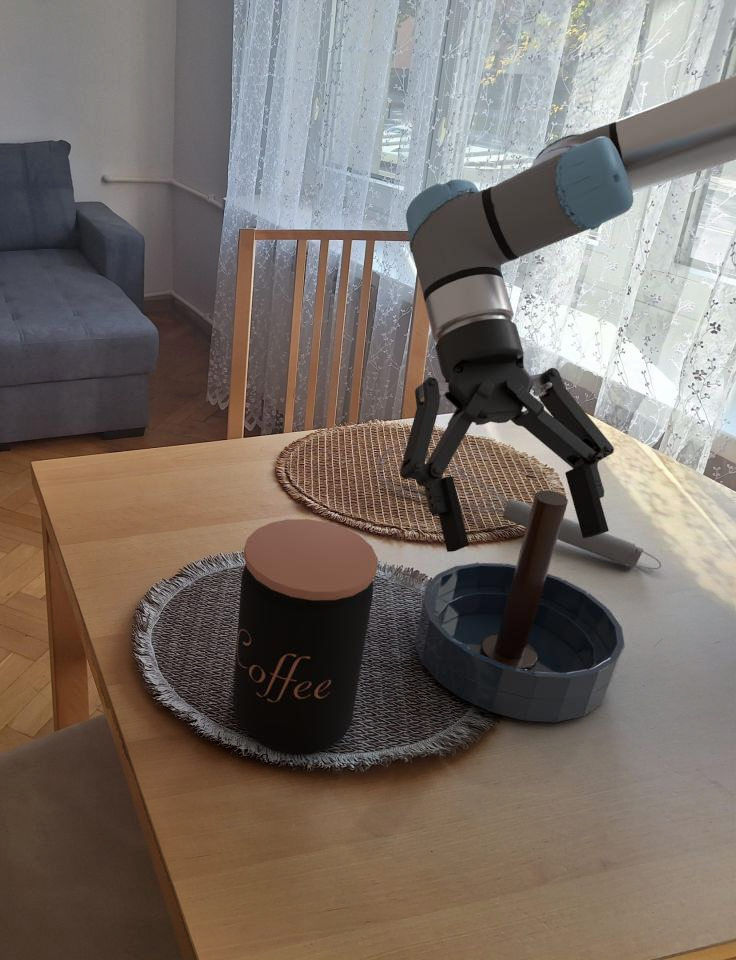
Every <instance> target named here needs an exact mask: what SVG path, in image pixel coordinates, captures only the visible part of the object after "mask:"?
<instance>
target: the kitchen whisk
mask: <svg viewBox="0 0 736 960" xmlns="http://www.w3.org/2000/svg"><path fill="white" fill-rule="evenodd" d="M399 447H407V444H403V445H402V444H400V445H393V446H391V447H390V448H388V449H386V450H385V451H384V452H383V453H382V455H381V457H380V458H378V459H377V460H376V461H377V464H376V467H375V469H376V472H377V476H378V477H379V478H380V480H381V482H383V483H384V484H385V485H386V486H387V487H388V488H389V489H390V490H392V491H394V492H395V493H397V494H399V495H401V496H404V497H407V498H409V499H412V500H414V501H418V502H421V503H425V504H428V502H427V501H425V500H420V499H416V498H414V497H411V496H409V495H406V494H403V493H401V492H399V491H398V490H401V491H404V492H406V493H408V494H411V495H414V496H418V497H421V498H425V499H427V498H426V496H424V495H420V494H417V493H414V492H411V491H408V490H405V489H403V488H400V487H398V486H397V485H395V484H393V483H390V482H389V481H387V480H386V479H384V477H382V475H381V472H380V468H382V470H383V471H384V472H385V473H386V475H387V476H388V477H390V478H391V479H393V480H394V481H396V482H397V483H399V484H401V485H403V486H405V487H407V488H410V489H412V490H415V491H417V492H419V493H421V494H422V493H423V494H425V491H422V490H419V489H417V488H414V487H412V486H409V485H407V484H405V483H403V482H401V481H399V480H398V479H396V478H395V477H393V476H391V475H390V474H389V473H388V472H387V470H386V469H385V468H384V466H386V467H388V468H390V469H392V470H396V471H398V472H400V470H401V469H398V468H395V467H394V466H391V465H388V464H387V463H384V462H388V463H391V464H393V465H398V466H400V467H401V466H402V463H397V462H394V461H391V460H387V459H384V458H385V457H386V456H387V455H388V454H393V453H399V454H403V455H405V451H406V450H392V449H394V448H399ZM427 453H429V454H432V453H433V451H429V450H428V452H427ZM429 458H430V456H428V455H427V456H426V460H425V463H427V462H428V460H427V459H429ZM383 461H384V462H383ZM449 464H451V465H453V466H455V467H456V468H458V469H460V470H461V471H463V472H465V473H466V474H468V475H469V476H468V475H466V474H465V473H463V472H461V471H460V470H457V469H456V468H453V467H452V466H450V465H448V466H447V468H449V469H451V470H453V471H455V472H457V473H458V474H461V475H463V476H464V477H466V478H467V479H469V480H471V481H473V482H474V483H475V484H474V483H473V482H471V481H469V480H467V479H465V478H463V477H462V476H460V475H458V474H456V473H454V472H452V471H450V470H448V469H446V470H445V471H446V472H448V473H449V474H452V475H454V476H456V477H457V478H459V479H461V480H463V481H465V482H466V483H469V484H470V485H472V486H474V487H476V488H478V489H479V490H481V491H482V492H485V493H487V494H488V495H490V496H492V497H493V498H495V499H496V500H498V501H500V502H502V503H503V504H501V503H499V502H497V501H495V500H493V499H490V498H488V497H485V496H482V495H481V494H478V493H476V492H473V491H470V490H468V489H465V488H464V487H461V486H459V485H456V484H455V487H456V488H459V489H461V490H463V491H466V492H467V493H471V494H473V495H475V496H478V497H480V498H478V497H475V496H472V495H469V494H466V493H463V492H461V491H458V490H456V492H457V494H461V495H463V496H466V497H469V498H473V499H474V500H475V499H476V500H478V501H481V502H484V503H487V504H490V505H493V506H496V507H497V508H501V509H495V508H490V507H486V506H481V505H475V504H472V503H471V504H470V503H466V502H461V501H459V504H460V507H464V508H461V511H467V512H476V513H486V514H498V515H502V519H503V520H506V521H509V522H511V523H514V524H516V525H518V526H522V527H524V528H526V527H527V523H528V520H529V516H530V512H531V508H532V504H529V503H526V502H523V501H521V500H517V499H515V498H510V500H508V499H506V498H505V497H503V496H502V494H500V493H499V492H497V491H495V489H493V488H492V487H490V486H489V485H488V484H486V483H485V482H484V481H482V480H480V479H479V478H477V477H476V476H475V475H473V474H472V473H470V472H468V471H467V470H465V469H464V468H462V467H460V466H458V465H457V464H455V463H453V462H452V461H450V462H449ZM470 476H471V477H473V478H474V479H473V478H471V477H470ZM476 480H477V481H476ZM479 482H480V483H479ZM388 484H389V485H388ZM476 484H477V485H476ZM478 485H479V486H478ZM391 486H392V487H391ZM480 486H481V487H483V488H484V489H483V488H481V487H480ZM394 488H395V489H394ZM396 489H398V490H396ZM481 498H482V499H481ZM504 504H505V505H504ZM465 508H471V509H465ZM475 509H476V510H475ZM502 509H504V510H502ZM557 541H560V542H563V543H565V544H568V545H571V546H574V547H575V548H579V549H582V550H584V551H587V552H588V553H592V554H594V555H596V556H599V557H601V558H604V559H606V560H609V561H612V562H614V563H617V564H620V565H622V566H626V565H627V566H630V567H632V568H636V567H638V568H643V569H647V570H658V569H659V570H660V568H661V567H662V563H661V561H660V560H659V559H657V558H656V557H655V556H654V555H651V554H650V553H648V552H646V551H644V548H642V547H639V546H636V544H635V543H634V542H631V541H628V540H626V539H623V538H621V537H617V536H614V535H612V534H610V533H607V532H605V533H602V534H599V535H596V536H593V537H589V538H583V536H582V533H581V529H580V525H579V522H577V521H574V520H571V519H568V518H566V517H563V520H562V524H561V527H560V531H559V534H558V538H557ZM643 553H644V554H645V555H647V556H649V557H650V558H652V559H654V560H655V561H656V562H658V564H659V566H658V567H647V566H643V565H639V564H638V562H639V560H640V559H641V556H642V554H643Z"/></svg>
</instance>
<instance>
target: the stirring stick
mask: <svg viewBox="0 0 736 960" xmlns="http://www.w3.org/2000/svg"><path fill="white" fill-rule="evenodd" d="M568 503H569V500H568V498H567V497H566V496H565V495H564V494H563V493H560V492H557V491H553V490H539V491H536V492H535V494H534V497H533V501H532V504H531V506H532V508H531V512H530V516H529V520H528V523H527V527H525V531H524V535H523V539H522V543H521V545H520V546H521V547H520V550H519V554H518V558H517V561H516V564H515V565H516V569H515V573H514V576H513V580H512V584H511V588H510V592H509V595H508V599H507V603H506V607H505V611H504V614H503V618H502V622H501V626H500V630H499V633H498V634H495V635H490V636H488V637H486V638H485V639H484V640H483V642H482V644H481V649H480V652H481V655H483V656H486V657H488V658H490V659H493V660H495V661H497V662H500V663H502V664H505V665H509V666H513V667H517V668H522V669H526V670H530V671H531V670H533V669H534V668H535V666H536V663H537V658H538V657H537V653H536V651H535V650H534V648H533V647H532V646H531V645H530V644H528V639H529V636H530V632H531V629H532V625H533V622H534V618H535V615H536V611H537V608H538V604H539V601H540V597H541V594H542V590H543V587H544V583H545V580H546V576H547V573H548V572H549V569H550V565H551V562H552V559H553V555H554V552H555V548H556V545H557V541H558V539H557V538H558V534H559V531H560V527H561V524H562V520H563V518H565V513H566V510H567V508H568V507H567V506H568ZM548 574H549V573H548Z"/></svg>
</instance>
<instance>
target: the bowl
mask: <svg viewBox="0 0 736 960" xmlns="http://www.w3.org/2000/svg"><path fill="white" fill-rule="evenodd" d="M516 565H517V564H511V563H506V562H505V563H503V562H501V563H500V562H472V563H467V564H466V563H465V564H460V565H455V566H453V567H449V568H447V569H446V570H444V571H441V572H439V573H437V574H435V576H434V577H433V578H432V579H431V581H429V582H428V584H427V585H426V586H425V588H424V593H423V598H422V603H421V607H420V613H419V617H418V621H417V628H416V634H415V639H414V645H415V649H416V652H417V654H418V657H419V660H420V662H421V664H422V665H423V666H424V667H425V669H426V670H427V671H428V672H429V673H430V675H431V676H432V677H433V678H434V679H435V681H437V682H438V683H439V684H440V685H441V686H443V687H444V688H445V689H447V690H448V691H450V692H451V693H453V694H454V695H455V696H457V697H458V698H460V699H462V700H464V701H466V702H468V703H470V704H473V705H475V706H476V707H479V708H482V709H484V710H485V711H488V712H491V713H493V714H497V715H502V716H505V717H509V718H513V719H517V720H521V721H525V722H526V721H527V722H545V723H546V722H547V723H548V722H549V723H556V722H557V723H559V722H562V721H567V720H572V719H573V720H574V719H578V718H583V717H585V716H587V715H588V714H589V713H591V712H593V711H594V710H596V709H598V708H599V707H601V706H602V705H603V702H604V701H605V698H606V697H607V695H608V693H609V690H610V688H611V686H612V683H613V680H614V677H615V675H616V672H617V668H618V667H619V663H620V662H621V661H620V660H621V658H622V655H623V652H624V649H625V645H626V644H625V640H624V638H625V637H624V632H623V627H622V625H621V624H620V622H619V621H618V620H617V618H616V617H615V615H614V614H613V613H612V610H610V609H609V608H608V607H607V606H606V605H604V603H602V602H601V601H600V600H599V599H597V598H596V597H595V596H594V595H592V594H591V593H590V592H589V591H586V590H585V589H583V588H580V587H579V586H578V585H575V584H574V583H571V582H570V581H568V580H566V579H564V578H561V577H558V576H556V575H553V574H551V573H547V576H546V580H545V583H544V587H543V590H542V594H541V597H540V601H539V604H538V608H537V611H536V615H535V618H534V622H533V625H532V629H531V632H530V636H529V639H528V644H530V645H531V646H532V647H533V648H534V650H535V651H536V653H537V657H538V658H537V663H536V666H535V668H534V669H533V670H531V671H530V670H526V669H522V668H517V667H513V666H509V665H505V664H502V663H500V662H497V661H495V660H493V659H490V658H488V657H486V656H483V655H481V652H480V649H481V644H482V642H483V640H484V639H485V638H486V637H488V636H490V635H495V634H498V633H499V630H500V626H501V622H502V618H503V614H504V611H505V607H506V603H507V599H508V595H509V592H510V588H511V584H512V580H513V576H514V573H515V569H516Z"/></svg>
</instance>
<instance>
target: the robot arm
mask: <svg viewBox="0 0 736 960" xmlns="http://www.w3.org/2000/svg"><path fill="white" fill-rule="evenodd" d="M732 161H733V162H734V161H736V75H733V76H731V77H729V78H725V79H723V80H720V81H718V82H715V83H712V84H710V85H707V86H704V87H702V88H699V89H697V90H694V91H691V92H689V93H686V94H683V95H681V96H678V97H675V98H673V99H670V100H667V101H665V102H661V103H660V104H657V105H654V106H651V107H648V108H646V109H644V110H640V111H638V112H635V113H633V114H630V115H628V116H624V117H623V118H619V119H617V120H615V121H614V122H611V123H608V124H604V125H602V126H601V125H600V126H599V127H596V128H593V129H591V130H588V131H586V132H582V133H576V134H575V133H574V134H568V135H565V136H563V137H560V138H558V139H556V140H554V141H552V142H550V143H549V144H548V145H547V146H546V147H544V148H542V149H541V150H540V152H539V153H538V154H537V156H536V157H535V158H534V160H533V162H532V164H531V166H530V167H529V168H527V169H525V170H523V171H521V172H519V173H517V174H514V175H513V176H512V177H509V178H507V179H505V180H503V181H501V182H499V183H497V184H495V185H493V186H490V187H488V188H484V189H482V190H480V188H479V186H478V185H477V184H476V183H475V182H473V181H471V180H469V179H463V178H459V179H458V178H457V179H456V178H455V179H451V180H448V181H447V182H445V183H440V182H439V183H435V184H433V185H431V186H429V187H427V188H425V189H424V190H422V191H421V192H420V193H418V194H417V195H416V196H415V197H414V198H413V199H412V200H411V202H410V203H409V205H408V206H407V209H406V212H405V221H406V226H407V227H406V228H407V233H408V240H409V244H408V245H409V250H410V253H411V254H412V257H413V258H412V259H413V261H414V265H415V269H416V273H417V276H418V281H419V284H420V288H421V292H422V296H423V301H424V305H425V309H426V313H427V317H428V322H429V325H430V330H431V334H432V337H433V340H434V341H436V344H435V352H436V356H437V361H438V364H439V369H440V373H441V375H442V377H443V378H444V381H438V380H437V378H435V377H434V376H430V377H428V378H426V379H425V380H424V381H423V382H421V384H419V385H418V386H417V387H416V388H415V390H414V395H415V396H414V397H415V405H416V409H415V414H414V417H413V420H412V425H411V429H410V433H409V436H408V440H407V444H406V445H407V446H405V450H404V451H405V452H404V453H405V454H403V459H402V463H401V465H402V466H400V469H399V470H400V471H399V474H400V477H401V478H402V479H404V480H410V479H411V480H415V482H416V484H417V485H418V486H420V487H423V489H424V492H425V493H424V494H425V497H426V498H425V499H426V502H428V503H427V506H428V511H429V513H430V515H431V516H432V517H437V516H438V518H439V522H440V523H439V524H440V528H441V531H442V536H443V540H444V544H445V549H446V553H452V552H457V551H460V550H461V549H463V548H466V547H468V546H470V543H469V538H468V534H467V530H466V525H465V522H464V517H463V514H462V513H463V512H462V510H461V509H462V508H461V506H460V505H461V503H459V502H460V500H459V496H458V492H456V491H457V487H456V486H455V485H456V484H455V480H454V476H453V475H451V476H444V477H443V475H444V473H445V471H446V470H447V468H448V466H449V465H450V462H452V459H453V457H454V455H455V454H456V452H457V450H458V448H459V446H460V445H461V443H462V441H463V439H464V438H465V436H466V434H467V432H468V430H469V429H470V427H471V425H472V424H474V423H475V426H483V425H486V424H489V423H496V424H504V423H505V424H506V423H508V422H509V421H510V422H512V424H514V425H515V426H518V427H523V428H524V429H525V430H526V431H528V432H529V433H530V434H531V435H532V436H534V437H535V438H536V439H537V440H538V441H540V442H541V443H542V444H543V445H544V446H545V447H547V448H548V449H549V450H550V451H552V452H553V454H555V455H556V456H557V457H559V458H560V459H561V460H562V461H564V462H565V464H567V465H568V466H570V467H571V468H572V469H569V470H567V471H565V473H564V474H565V478H566V481H567V485H568V489H569V491H570V492H569V493H570V496H571V499H572V503H573V507H574V511H575V514H576V518H577V521H578V522H577V523H579V525H580V529H581V533H582V536H583V538H589V537H593V536H596V535H599V534H602V533H607V532H609V531H610V530H609V526H608V522H607V519H606V516H605V512H604V509H603V506H602V501H601V498H604V496H605V489H604V486H603V482H602V479H601V474H600V471H599V468H598V463H599V462H600V461H602V460H604V459H605V458H607V457H608V456H611V455H613V453H614V452H615V447H614V445H613V444H612V443H611V442H610V441H609V439H608V438H607V437H606V435H604V434H603V432H602V431H601V429H599V427H598V426H597V425H596V423H594V421H593V420H592V418H591V417H590V416H589V415H588V414H587V413H586V411H585V410H584V409H583V408H582V406H581V405H580V404H579V403H578V401H577V400H576V399H575V398H574V396H573V395H572V394H571V392H570V391H569V390H567V388H566V386H565V383H564V380H563V378H562V375H561V374H560V373H561V372H559V370H558V368H555V367H550V368H548V369H547V370H545V371H544V372H541V373H537V374H532V375H530V374H529V373H528V371H527V370H526V368H525V366H524V355H525V353H524V349H523V345H522V342H521V337H520V334H519V330H518V327H517V324H516V323H515V322H514V321H513V319H514V316H515V313H514V310H513V306H512V303H511V299H510V295H509V293H508V289H507V286H506V282H505V279H504V275H503V273H502V265H504V264H507V263H509V262H512V261H516V260H518V259H519V258H521V257H523V256H525V255H528V254H530V253H533V252H535V251H538V250H541V249H544V248H545V247H548V246H551V245H553V244H555V243H558V242H561V241H563V240H566V239H568V238H571V237H574V236H576V235H578V234H581V233H584V232H585V231H588V230H590V231H591V230H595V229H597V228H600V227H601V226H602V224H604V223H606V222H608V221H611V220H613V219H615V218H617V217H620V216H622V215H623V214H625V213H627V212H628V211H630V210H631V208H632V206H633V203H634V193H637V192H640V191H643V190H646V189H650V188H652V187H656V186H659V185H662V184H664V183H665V184H666V183H668V182H671V181H674V180H678V179H681V178H683V177H686V176H689V175H693V174H696V173H699V172H702V171H704V170H708V169H711V168H715V167H717V166H721V165H724V164H727V163H730V162H732ZM531 391H532V394H531ZM536 397H538V398H539V400H538V399H537V398H536ZM445 398H446V400H447V401H449V402H450V404H452V406H454V407H455V408H456V409H455V410H454V412H453V413H452V415H451V417H450V418H449V421H448V422H447V426H446V428H445V430H444V432H443V434H442V436H441V437H440V439H439V441H438V443H437V444H436V446H435V447H434V449H433V451H432V453H431V454H430V456H429V457H430V458H428V460H427V457H428V453H429V452H428V451H429V448H430V445H431V440H432V435H433V433H434V428H435V425H436V421H437V417H438V413H439V409H440V404H441V402H442V401H443V400H444V399H445ZM524 408H525V410H523V409H524ZM545 409H546V410H547V411H546V410H545ZM426 456H427V457H426ZM425 460H427V461H428V462H426V461H425Z"/></svg>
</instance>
